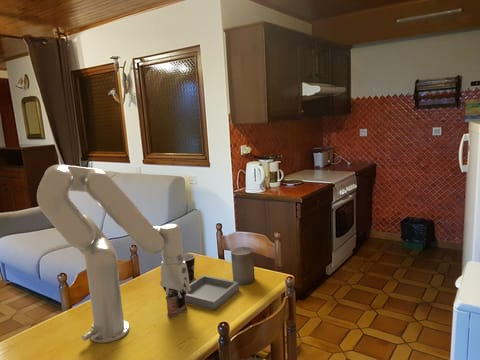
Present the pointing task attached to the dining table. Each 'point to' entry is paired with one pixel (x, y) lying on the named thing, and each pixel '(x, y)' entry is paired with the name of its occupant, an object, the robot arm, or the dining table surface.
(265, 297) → the dining table surface
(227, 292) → the tray
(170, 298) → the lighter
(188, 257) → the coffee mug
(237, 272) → the pillar candle
